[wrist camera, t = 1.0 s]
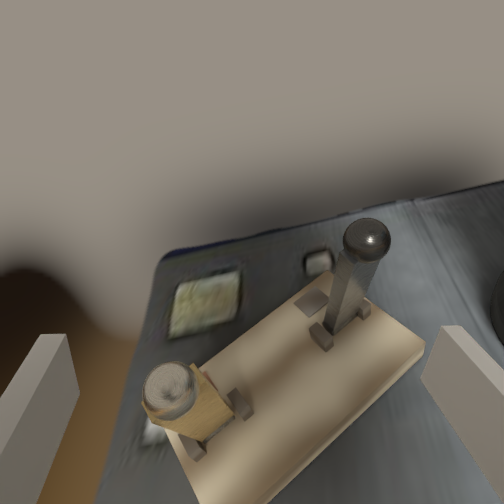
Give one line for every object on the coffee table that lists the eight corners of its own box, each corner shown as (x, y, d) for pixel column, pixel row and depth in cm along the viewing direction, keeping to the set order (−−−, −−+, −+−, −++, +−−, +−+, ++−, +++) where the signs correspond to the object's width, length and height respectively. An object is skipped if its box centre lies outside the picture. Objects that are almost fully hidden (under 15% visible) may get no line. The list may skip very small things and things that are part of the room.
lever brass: (242, 425, 29) (207, 386, 16) (210, 452, 28) (147, 433, 15) (223, 396, 30) (176, 340, 18) (192, 421, 29) (120, 381, 17)
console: (422, 355, 32) (427, 330, 29) (226, 541, 26) (207, 534, 23) (329, 284, 40) (325, 259, 37) (163, 413, 34) (143, 395, 31)
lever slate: (362, 322, 33) (409, 227, 20) (337, 343, 32) (369, 258, 19) (340, 301, 34) (371, 199, 21) (316, 321, 33) (333, 227, 21)
